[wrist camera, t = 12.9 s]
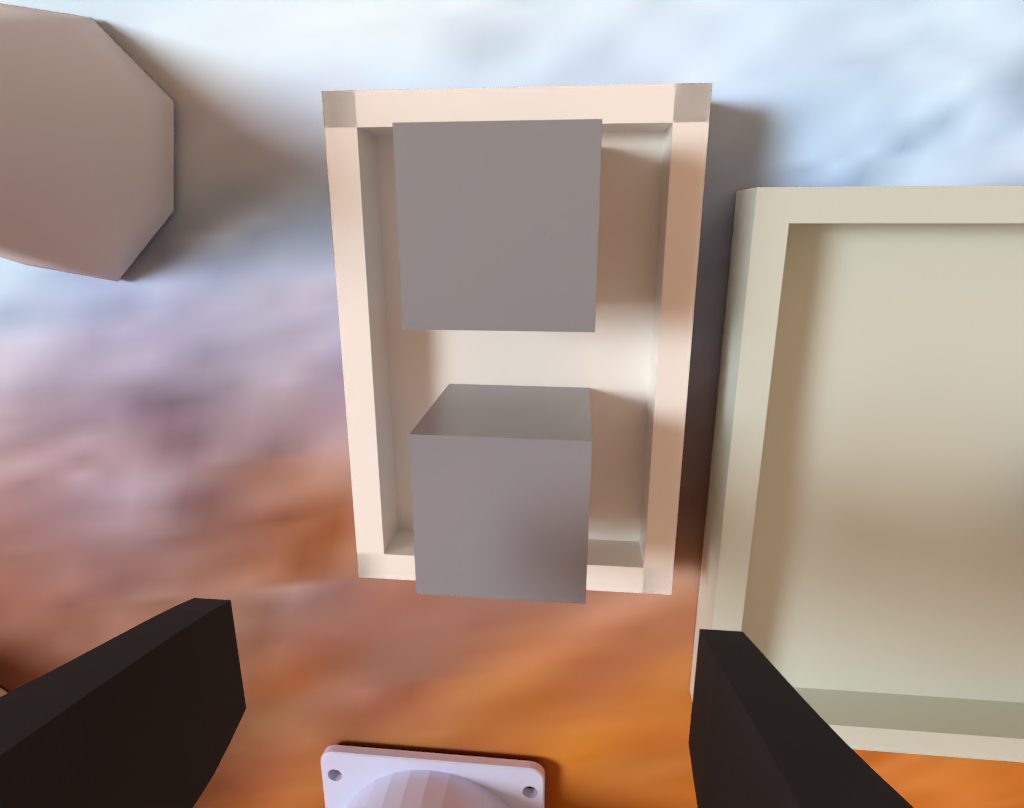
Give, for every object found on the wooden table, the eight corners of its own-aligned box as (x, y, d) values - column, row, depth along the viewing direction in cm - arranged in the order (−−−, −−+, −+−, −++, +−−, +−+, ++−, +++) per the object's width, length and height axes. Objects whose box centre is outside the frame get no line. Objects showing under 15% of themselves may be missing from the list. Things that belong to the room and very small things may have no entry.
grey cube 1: (590, 303, 17) (594, 332, 13) (445, 302, 18) (402, 329, 13) (595, 145, 16) (602, 118, 12) (441, 147, 16) (392, 122, 12)
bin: (1105, 719, 20) (1161, 772, 18) (689, 689, 21) (700, 737, 19) (1274, 188, 15) (1373, 183, 13) (736, 191, 16) (757, 186, 15)
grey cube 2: (583, 516, 19) (585, 603, 15) (452, 510, 19) (416, 593, 15) (588, 387, 18) (592, 440, 14) (449, 383, 18) (409, 434, 14)
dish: (662, 558, 20) (671, 594, 18) (379, 543, 20) (359, 576, 19) (696, 99, 16) (712, 82, 14) (350, 105, 17) (321, 91, 15)
